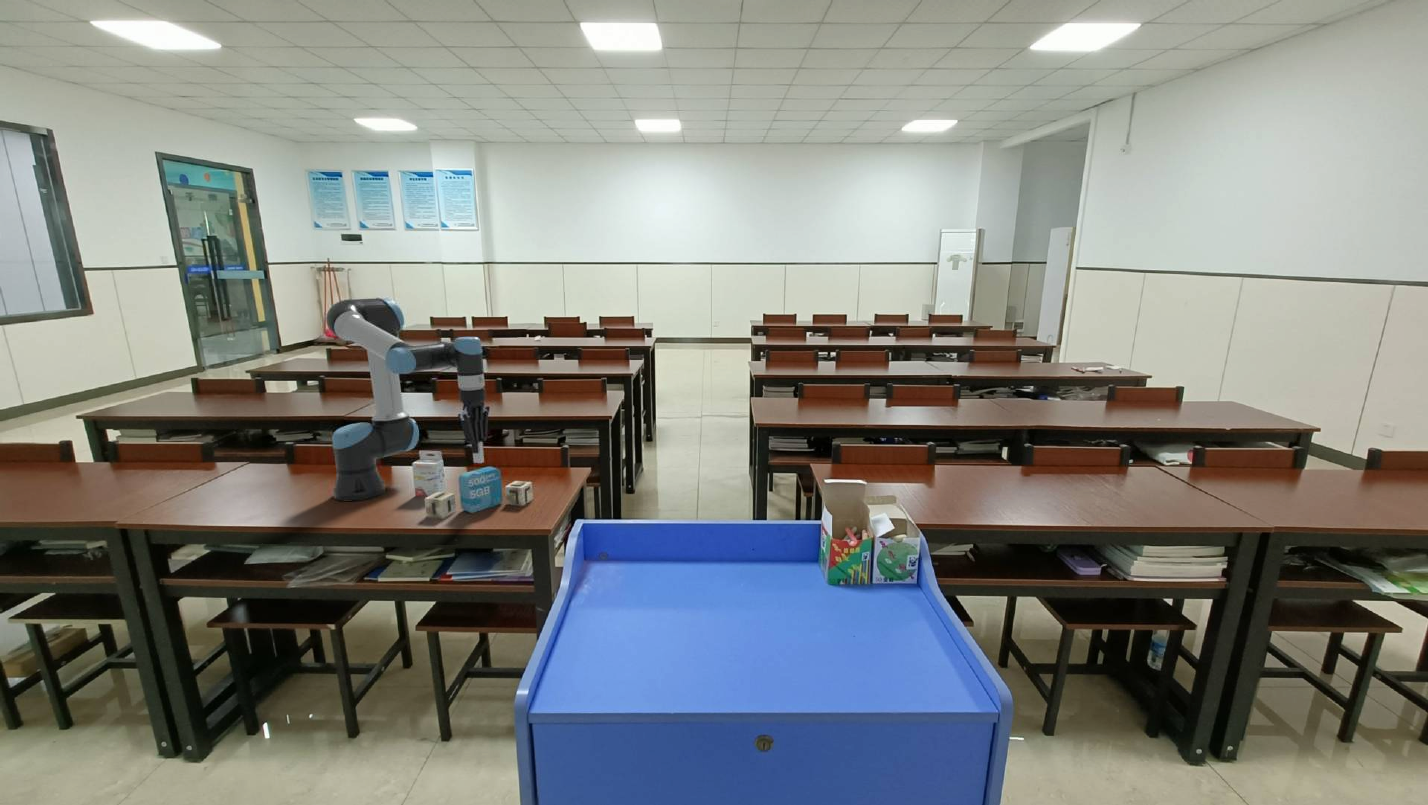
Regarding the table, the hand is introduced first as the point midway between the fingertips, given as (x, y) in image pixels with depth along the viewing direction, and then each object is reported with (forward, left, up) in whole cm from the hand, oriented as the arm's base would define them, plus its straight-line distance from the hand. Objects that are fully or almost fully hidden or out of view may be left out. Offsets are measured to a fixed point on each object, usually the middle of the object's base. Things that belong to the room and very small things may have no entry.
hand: (478, 462), depth 194 cm
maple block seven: (+9, +7, -15) cm, 19 cm away
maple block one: (-9, -8, -15) cm, 19 cm away
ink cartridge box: (-24, +6, -15) cm, 29 cm away
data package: (0, 0, -15) cm, 15 cm away
